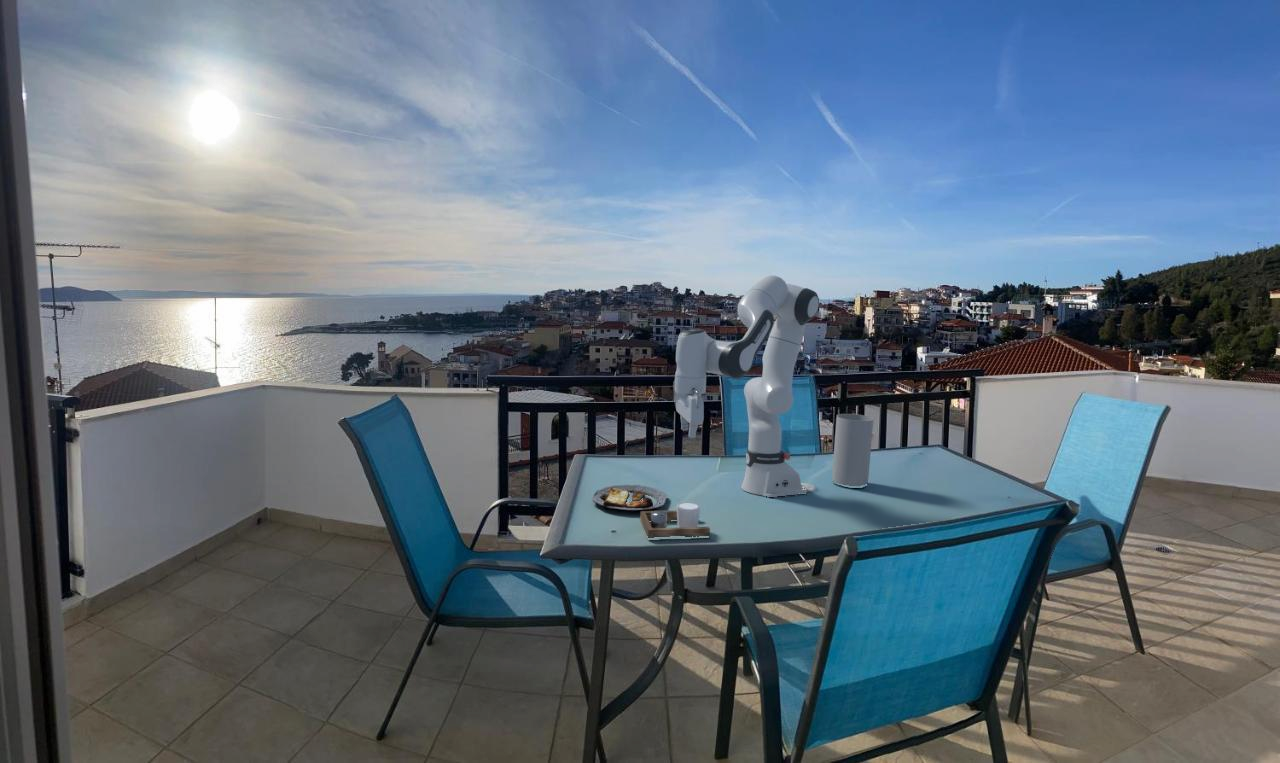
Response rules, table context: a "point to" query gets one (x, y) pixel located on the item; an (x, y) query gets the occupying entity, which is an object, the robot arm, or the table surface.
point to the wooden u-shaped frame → (668, 532)
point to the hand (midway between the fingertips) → (688, 433)
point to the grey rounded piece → (658, 519)
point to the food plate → (619, 494)
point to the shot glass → (687, 514)
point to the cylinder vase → (852, 449)
